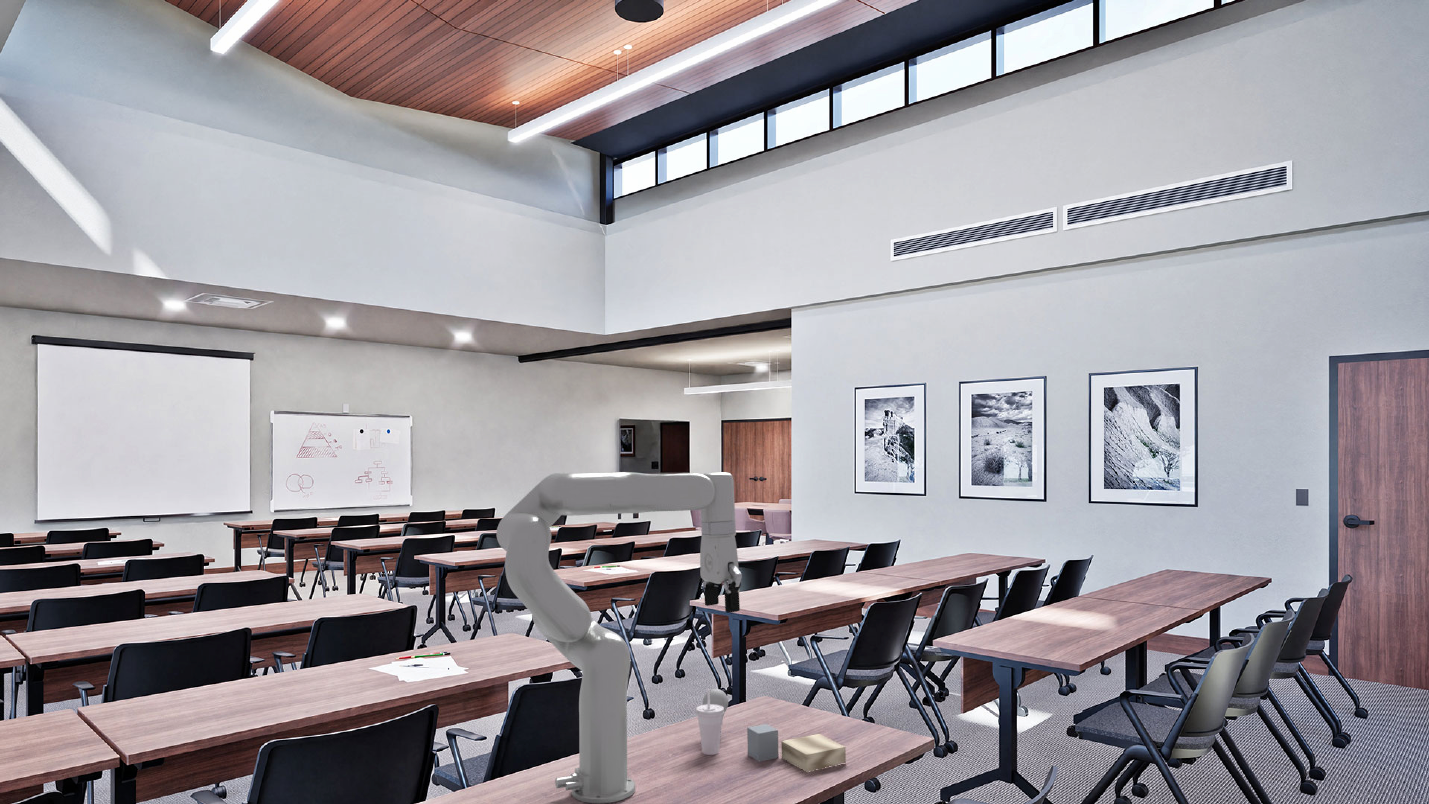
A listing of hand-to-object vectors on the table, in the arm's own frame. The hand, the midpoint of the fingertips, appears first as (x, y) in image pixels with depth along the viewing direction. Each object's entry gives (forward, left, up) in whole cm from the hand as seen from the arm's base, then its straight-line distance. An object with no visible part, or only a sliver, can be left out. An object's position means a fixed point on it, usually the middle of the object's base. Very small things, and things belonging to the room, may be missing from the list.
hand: (721, 608), depth 183 cm
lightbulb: (+8, +19, -34) cm, 39 cm away
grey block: (+11, +2, -34) cm, 35 cm away
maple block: (+19, -6, -34) cm, 39 cm away
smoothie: (+2, +10, -34) cm, 35 cm away
